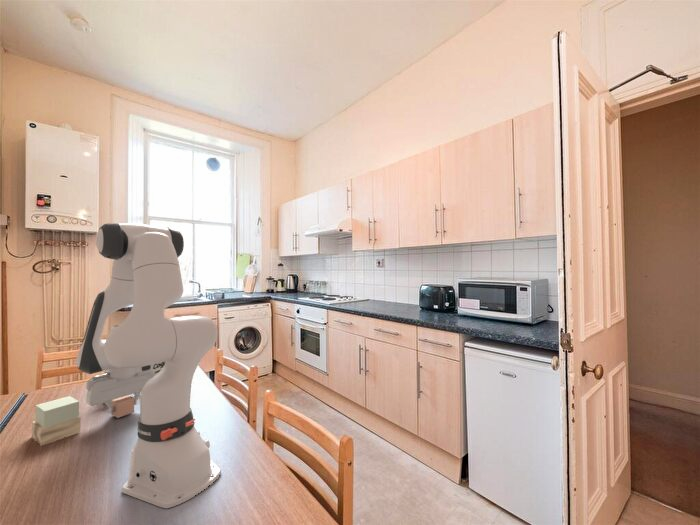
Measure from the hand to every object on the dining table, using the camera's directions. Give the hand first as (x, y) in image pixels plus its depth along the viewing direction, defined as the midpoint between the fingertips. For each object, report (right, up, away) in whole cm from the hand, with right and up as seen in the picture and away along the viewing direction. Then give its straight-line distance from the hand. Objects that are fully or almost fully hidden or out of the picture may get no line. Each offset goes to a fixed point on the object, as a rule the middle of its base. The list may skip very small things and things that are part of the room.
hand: (122, 408), depth 108 cm
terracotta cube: (0, -2, 0) cm, 2 cm away
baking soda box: (-6, -3, +28) cm, 29 cm away
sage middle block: (-11, +3, -13) cm, 17 cm away
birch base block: (-11, -2, -13) cm, 17 cm away
